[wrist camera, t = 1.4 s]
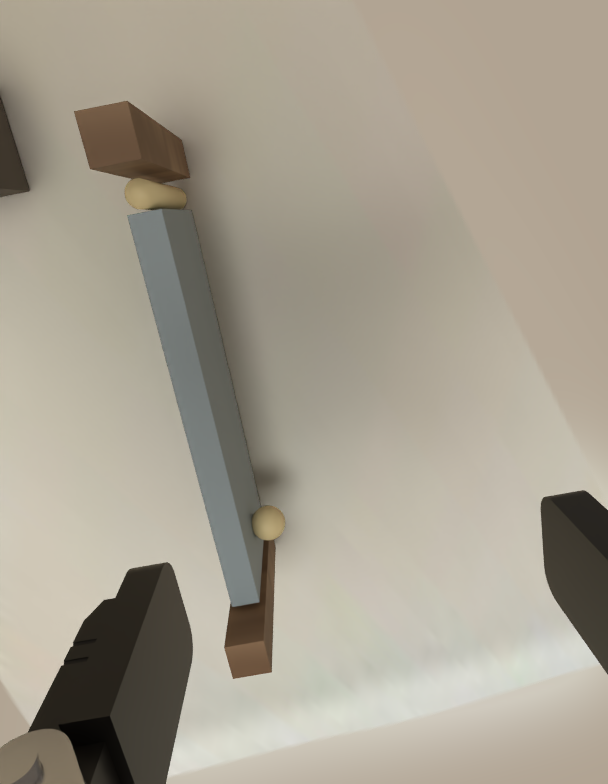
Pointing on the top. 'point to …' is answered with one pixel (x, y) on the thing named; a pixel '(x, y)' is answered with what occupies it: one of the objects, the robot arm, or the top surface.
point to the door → (202, 383)
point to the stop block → (9, 161)
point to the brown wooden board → (164, 164)
